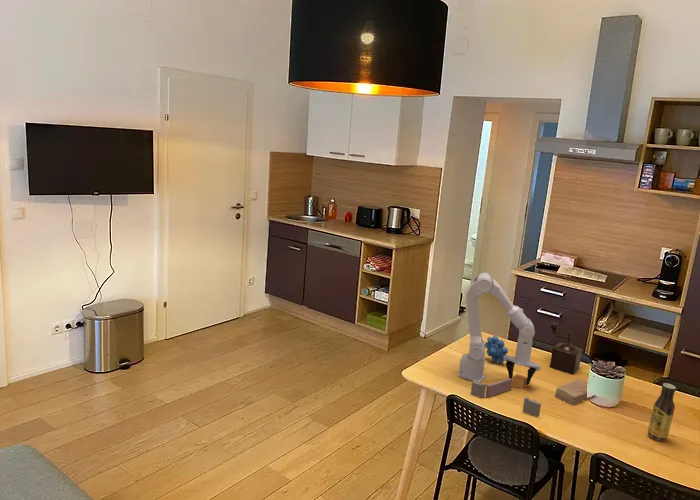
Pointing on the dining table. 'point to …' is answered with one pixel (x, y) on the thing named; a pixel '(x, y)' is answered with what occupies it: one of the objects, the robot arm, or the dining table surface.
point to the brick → (572, 392)
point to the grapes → (496, 349)
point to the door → (498, 387)
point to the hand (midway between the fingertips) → (519, 381)
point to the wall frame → (529, 405)
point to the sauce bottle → (662, 414)
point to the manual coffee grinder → (565, 354)
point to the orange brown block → (519, 381)
